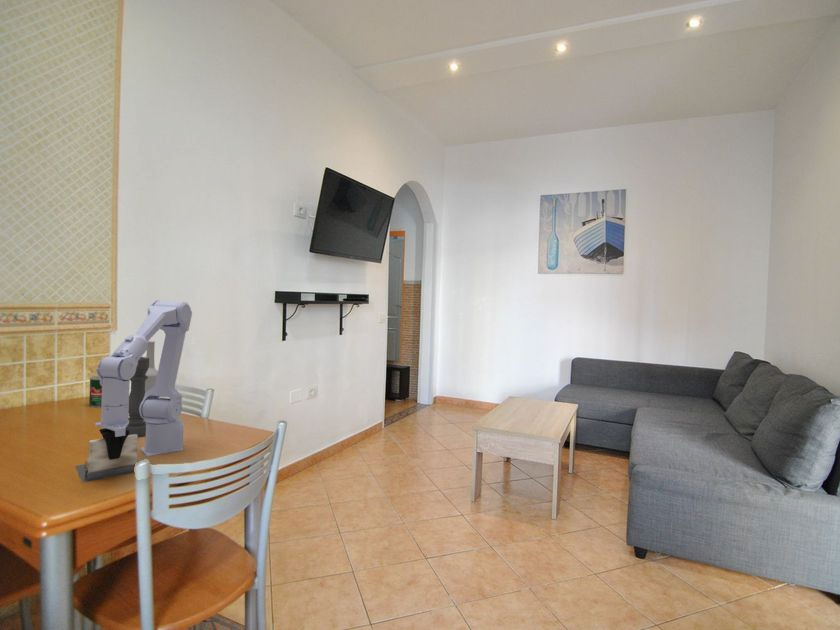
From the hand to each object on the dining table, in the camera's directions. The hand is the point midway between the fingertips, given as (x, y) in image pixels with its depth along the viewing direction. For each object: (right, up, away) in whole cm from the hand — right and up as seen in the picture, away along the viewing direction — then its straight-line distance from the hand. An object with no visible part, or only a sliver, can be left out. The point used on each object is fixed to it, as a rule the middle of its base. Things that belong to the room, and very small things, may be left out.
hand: (113, 457), depth 114 cm
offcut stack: (-6, -4, +6) cm, 9 cm away
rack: (-3, -4, +3) cm, 6 cm away
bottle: (-22, -2, +51) cm, 56 cm away
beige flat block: (0, -4, 0) cm, 4 cm away
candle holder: (-14, -3, +31) cm, 34 cm away
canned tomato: (-49, 0, +65) cm, 81 cm away
